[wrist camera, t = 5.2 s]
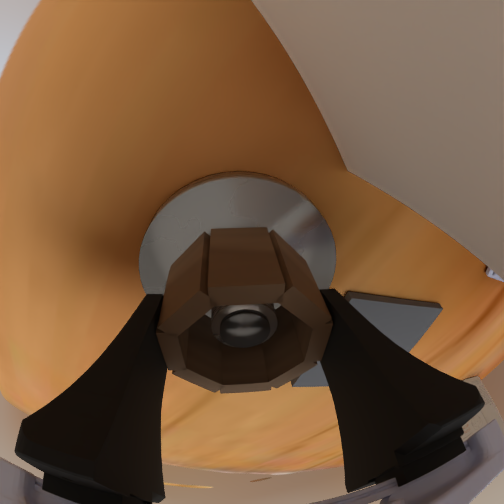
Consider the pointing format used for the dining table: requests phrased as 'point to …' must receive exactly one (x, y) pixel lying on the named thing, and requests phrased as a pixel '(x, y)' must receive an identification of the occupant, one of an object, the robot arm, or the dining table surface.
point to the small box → (481, 411)
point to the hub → (237, 216)
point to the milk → (411, 102)
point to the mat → (383, 326)
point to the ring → (241, 293)
